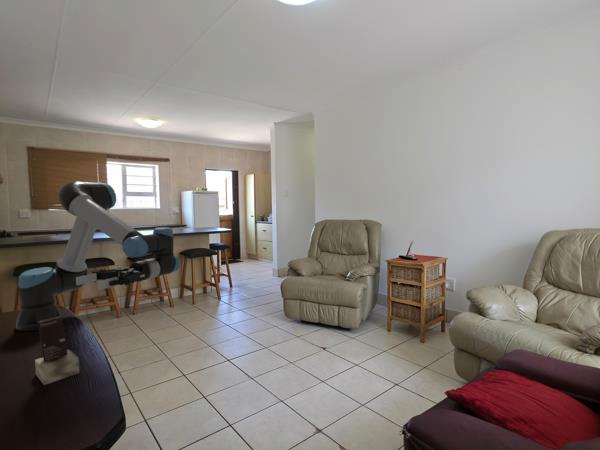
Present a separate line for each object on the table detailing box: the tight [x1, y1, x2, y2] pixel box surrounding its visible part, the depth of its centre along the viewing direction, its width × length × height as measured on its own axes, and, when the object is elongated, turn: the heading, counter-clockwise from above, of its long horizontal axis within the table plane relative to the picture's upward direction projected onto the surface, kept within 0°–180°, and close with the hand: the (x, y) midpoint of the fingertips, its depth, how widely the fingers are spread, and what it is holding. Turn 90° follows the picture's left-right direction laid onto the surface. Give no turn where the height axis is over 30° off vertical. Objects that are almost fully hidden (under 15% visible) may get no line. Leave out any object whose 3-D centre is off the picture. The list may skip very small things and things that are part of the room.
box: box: [38, 315, 68, 362], centre depth 103 cm, size 6×4×12 cm
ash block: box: [34, 349, 80, 386], centre depth 103 cm, size 9×9×5 cm
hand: (87, 283), depth 110 cm, fingers open, 10 cm apart
